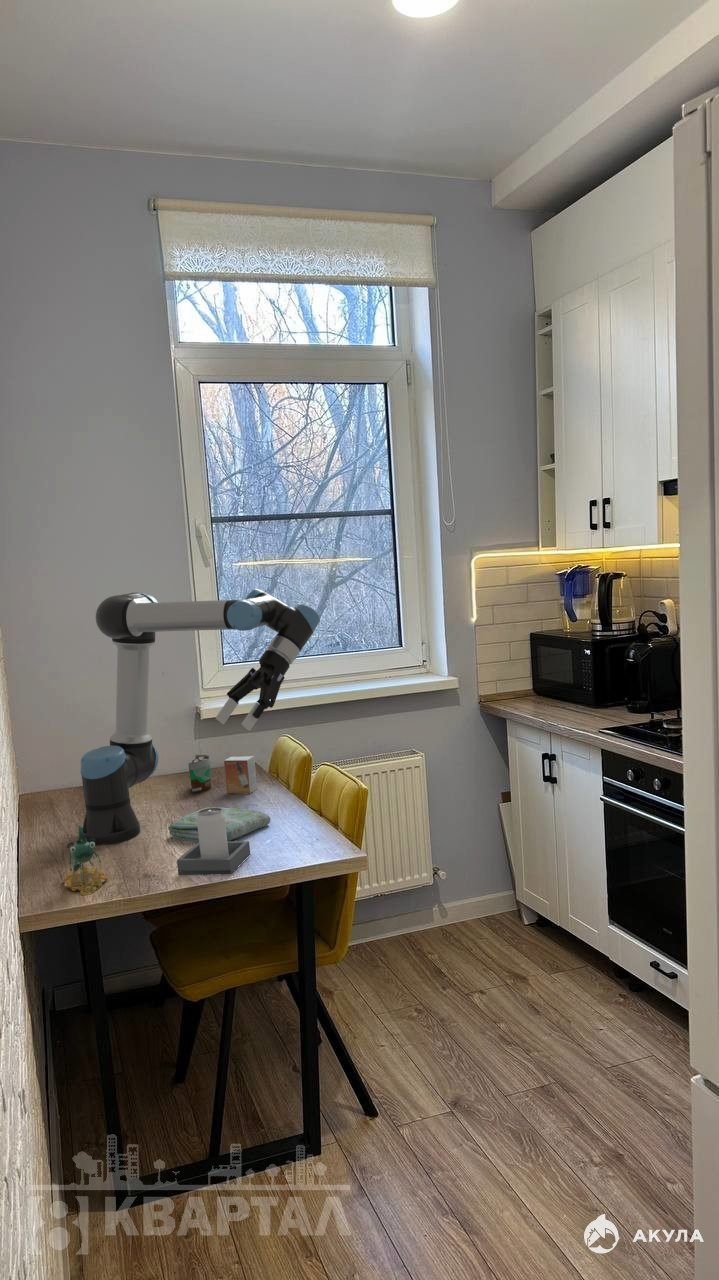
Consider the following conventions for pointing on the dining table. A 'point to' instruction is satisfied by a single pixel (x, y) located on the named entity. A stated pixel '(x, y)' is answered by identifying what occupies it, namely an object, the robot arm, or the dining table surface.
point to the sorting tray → (213, 860)
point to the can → (212, 833)
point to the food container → (200, 773)
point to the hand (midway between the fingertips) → (232, 724)
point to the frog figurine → (86, 876)
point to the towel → (235, 824)
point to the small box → (240, 774)
